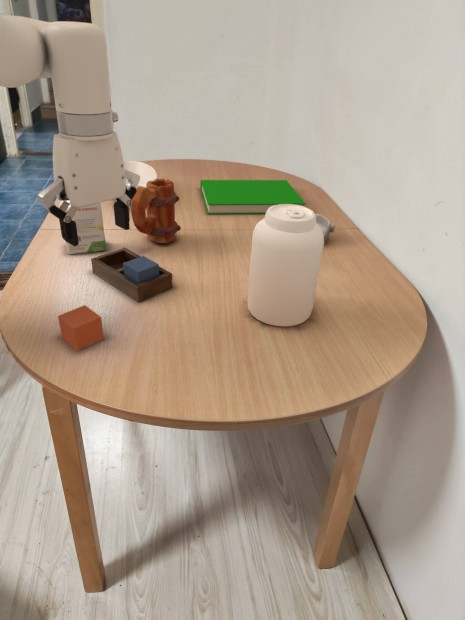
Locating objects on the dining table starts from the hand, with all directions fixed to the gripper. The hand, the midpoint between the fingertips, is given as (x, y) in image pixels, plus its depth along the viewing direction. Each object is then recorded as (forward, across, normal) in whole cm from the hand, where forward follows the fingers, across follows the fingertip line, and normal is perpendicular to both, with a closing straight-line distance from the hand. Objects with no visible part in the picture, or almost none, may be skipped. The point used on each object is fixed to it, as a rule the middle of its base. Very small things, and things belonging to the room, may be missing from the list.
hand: (98, 235), depth 74 cm
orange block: (+16, +7, +3) cm, 18 cm away
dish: (+16, -56, +4) cm, 58 cm away
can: (+16, -25, +21) cm, 36 cm away
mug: (+16, -27, -18) cm, 36 cm away
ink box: (+16, -13, -27) cm, 34 cm away
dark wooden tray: (+16, -12, -8) cm, 21 cm away
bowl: (+16, -44, -50) cm, 68 cm away
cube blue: (+15, -11, -4) cm, 19 cm away
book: (+16, -68, -23) cm, 73 cm away
